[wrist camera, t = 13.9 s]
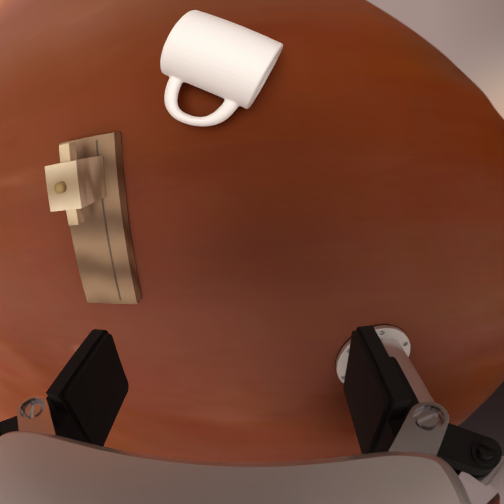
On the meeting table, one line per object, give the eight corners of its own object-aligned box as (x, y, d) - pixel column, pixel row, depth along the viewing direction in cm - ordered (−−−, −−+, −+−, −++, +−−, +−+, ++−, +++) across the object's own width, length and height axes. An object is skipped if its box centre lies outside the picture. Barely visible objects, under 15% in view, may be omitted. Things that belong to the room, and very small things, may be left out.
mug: (203, 24, 29) (191, -2, 21) (280, 55, 30) (287, 34, 23) (156, 110, 32) (131, 103, 25) (232, 143, 34) (226, 144, 26)
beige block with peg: (108, 212, 34) (80, 229, 28) (79, 215, 35) (49, 231, 28) (101, 138, 31) (70, 141, 25) (71, 144, 31) (38, 149, 25)
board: (141, 296, 41) (137, 304, 39) (93, 295, 41) (87, 302, 39) (120, 132, 33) (113, 132, 31) (68, 142, 33) (59, 143, 31)
